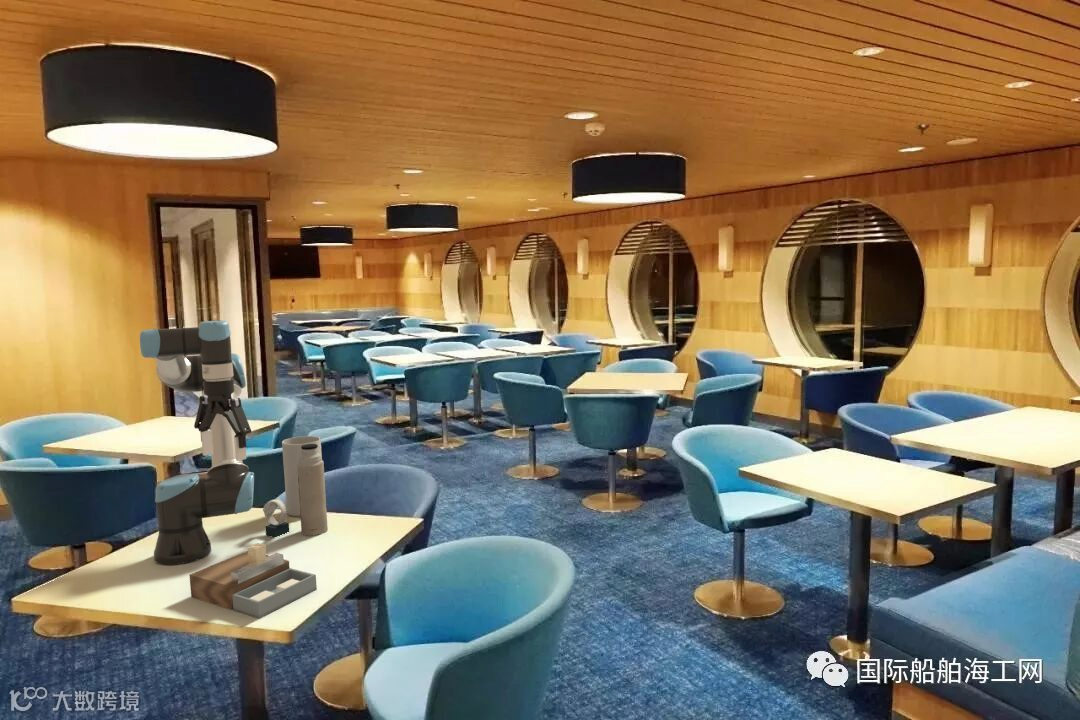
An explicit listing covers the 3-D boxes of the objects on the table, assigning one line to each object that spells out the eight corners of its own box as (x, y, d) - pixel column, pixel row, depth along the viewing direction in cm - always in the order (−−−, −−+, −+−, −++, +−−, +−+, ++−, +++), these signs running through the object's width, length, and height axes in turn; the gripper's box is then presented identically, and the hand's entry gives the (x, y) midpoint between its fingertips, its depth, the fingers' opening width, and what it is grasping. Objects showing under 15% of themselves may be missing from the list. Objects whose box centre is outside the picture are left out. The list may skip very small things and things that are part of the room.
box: (233, 610, 181) (232, 594, 181) (291, 582, 197) (290, 568, 196) (259, 618, 177) (258, 602, 176) (316, 589, 192) (315, 574, 192)
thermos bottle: (297, 535, 232) (291, 448, 228) (306, 527, 240) (301, 442, 236) (323, 535, 231) (317, 447, 228) (331, 526, 239) (325, 441, 236)
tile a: (263, 602, 179) (263, 610, 180) (279, 594, 184) (280, 601, 184) (249, 598, 182) (249, 606, 182) (265, 590, 186) (266, 598, 186)
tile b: (289, 590, 186) (290, 597, 186) (305, 582, 190) (305, 589, 190) (276, 586, 189) (276, 593, 189) (291, 578, 193) (292, 586, 193)
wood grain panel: (191, 597, 189) (189, 574, 189) (250, 571, 205) (248, 550, 204) (232, 610, 181) (230, 586, 181) (290, 582, 197) (289, 560, 196)
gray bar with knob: (231, 581, 184) (228, 554, 183) (276, 561, 196) (274, 536, 195) (239, 583, 182) (237, 556, 181) (284, 563, 194) (282, 538, 193)
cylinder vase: (313, 518, 248) (309, 445, 245) (279, 516, 251) (274, 444, 248) (331, 506, 260) (327, 436, 257) (298, 504, 263) (294, 435, 260)
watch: (275, 529, 238) (273, 496, 237) (293, 533, 234) (291, 499, 233) (261, 534, 234) (259, 500, 232) (279, 538, 230) (276, 504, 228)
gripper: (176, 378, 200) (182, 455, 203) (237, 383, 188) (243, 465, 190) (200, 374, 207) (207, 449, 209) (261, 379, 194) (267, 458, 197)
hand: (224, 457), depth 200 cm, fingers open, 13 cm apart
